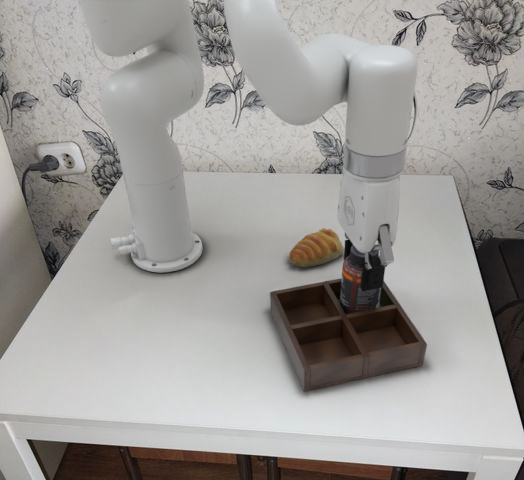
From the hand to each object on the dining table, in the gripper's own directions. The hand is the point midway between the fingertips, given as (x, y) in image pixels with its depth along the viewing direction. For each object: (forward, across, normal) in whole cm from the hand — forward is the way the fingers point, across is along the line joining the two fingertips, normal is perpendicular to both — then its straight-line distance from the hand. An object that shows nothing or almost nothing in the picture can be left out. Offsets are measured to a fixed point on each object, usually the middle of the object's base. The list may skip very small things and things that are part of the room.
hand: (362, 273), depth 86 cm
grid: (+8, +4, -4) cm, 10 cm away
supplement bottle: (+7, 0, 0) cm, 7 cm away
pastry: (+8, -17, -1) cm, 19 cm away
